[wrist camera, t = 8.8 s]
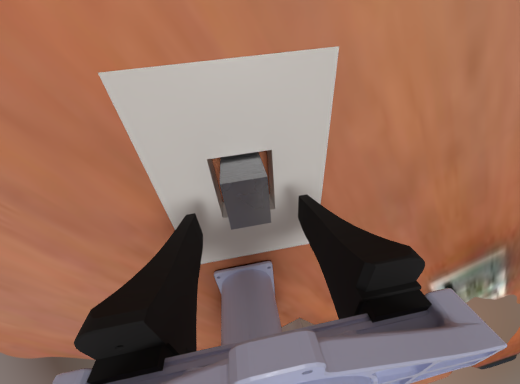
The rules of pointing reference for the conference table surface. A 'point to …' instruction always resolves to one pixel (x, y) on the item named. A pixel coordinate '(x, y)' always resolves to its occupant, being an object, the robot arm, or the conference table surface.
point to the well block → (231, 137)
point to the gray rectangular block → (245, 190)
